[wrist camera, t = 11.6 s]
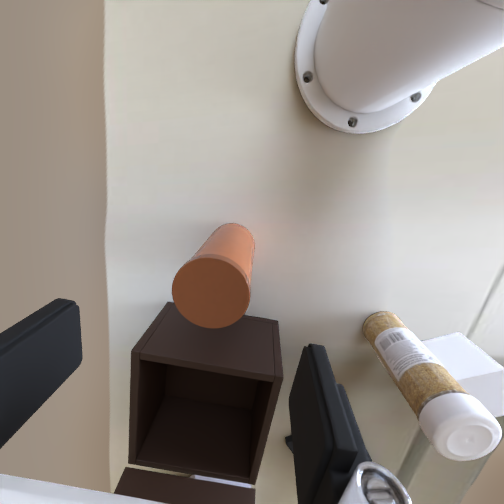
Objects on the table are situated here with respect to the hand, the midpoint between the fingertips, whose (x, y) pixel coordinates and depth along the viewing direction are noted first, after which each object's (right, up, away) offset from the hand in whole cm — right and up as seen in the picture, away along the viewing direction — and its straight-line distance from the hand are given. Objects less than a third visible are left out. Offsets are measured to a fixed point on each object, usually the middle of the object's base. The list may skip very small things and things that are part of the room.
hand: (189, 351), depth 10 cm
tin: (0, +5, +17) cm, 18 cm away
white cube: (+25, -9, +21) cm, 34 cm away
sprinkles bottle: (+18, -5, +20) cm, 27 cm away
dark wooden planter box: (-2, -10, +22) cm, 24 cm away
